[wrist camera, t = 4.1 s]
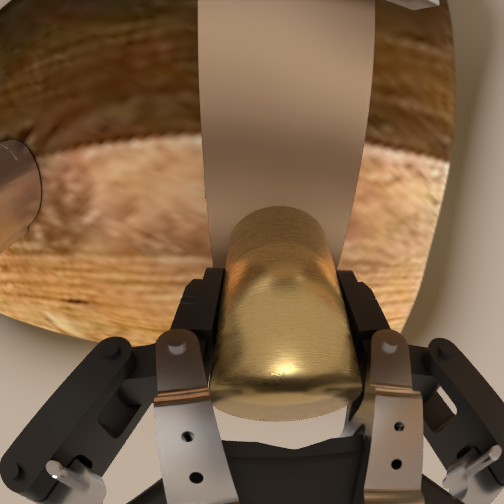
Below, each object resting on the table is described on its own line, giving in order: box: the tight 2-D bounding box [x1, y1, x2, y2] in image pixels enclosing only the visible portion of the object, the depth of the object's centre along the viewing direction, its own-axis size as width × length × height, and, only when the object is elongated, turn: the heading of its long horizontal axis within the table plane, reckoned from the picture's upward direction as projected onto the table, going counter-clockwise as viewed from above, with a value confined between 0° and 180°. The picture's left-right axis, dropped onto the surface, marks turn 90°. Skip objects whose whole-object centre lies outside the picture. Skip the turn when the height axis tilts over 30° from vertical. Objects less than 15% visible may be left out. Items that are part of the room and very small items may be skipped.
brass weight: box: [208, 206, 362, 421], centre depth 10 cm, size 4×4×7 cm
